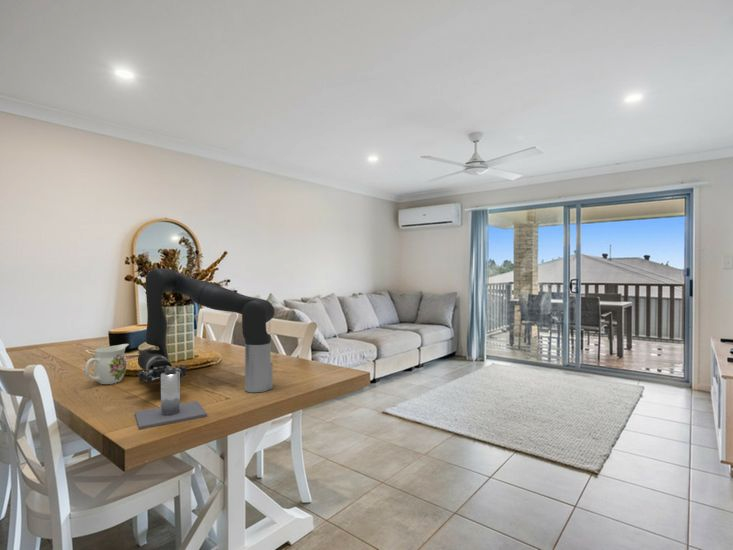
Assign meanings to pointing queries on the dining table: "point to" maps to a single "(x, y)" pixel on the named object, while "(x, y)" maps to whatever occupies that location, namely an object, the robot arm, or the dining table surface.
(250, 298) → the robot arm
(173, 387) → the pepper mill
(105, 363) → the pitcher
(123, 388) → the dining table surface
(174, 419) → the placemat
